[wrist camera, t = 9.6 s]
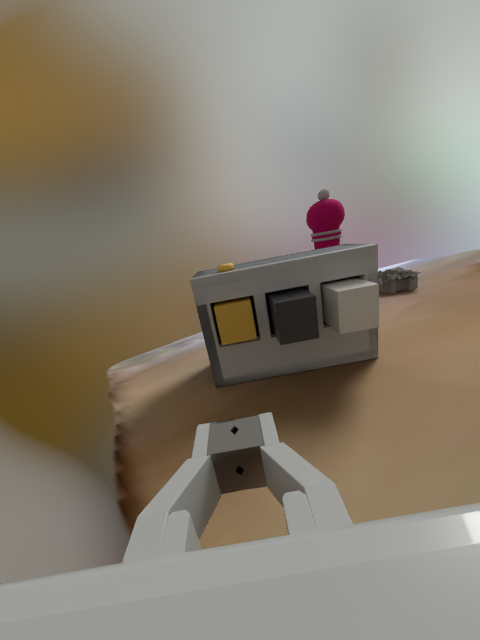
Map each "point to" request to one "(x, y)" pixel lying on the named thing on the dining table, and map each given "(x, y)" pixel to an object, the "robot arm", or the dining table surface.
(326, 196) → the pepper mill
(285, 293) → the black button
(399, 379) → the dining table surface
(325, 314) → the white button
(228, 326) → the amber button
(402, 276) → the egg carton
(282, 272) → the console
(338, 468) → the dining table surface
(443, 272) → the dining table surface
